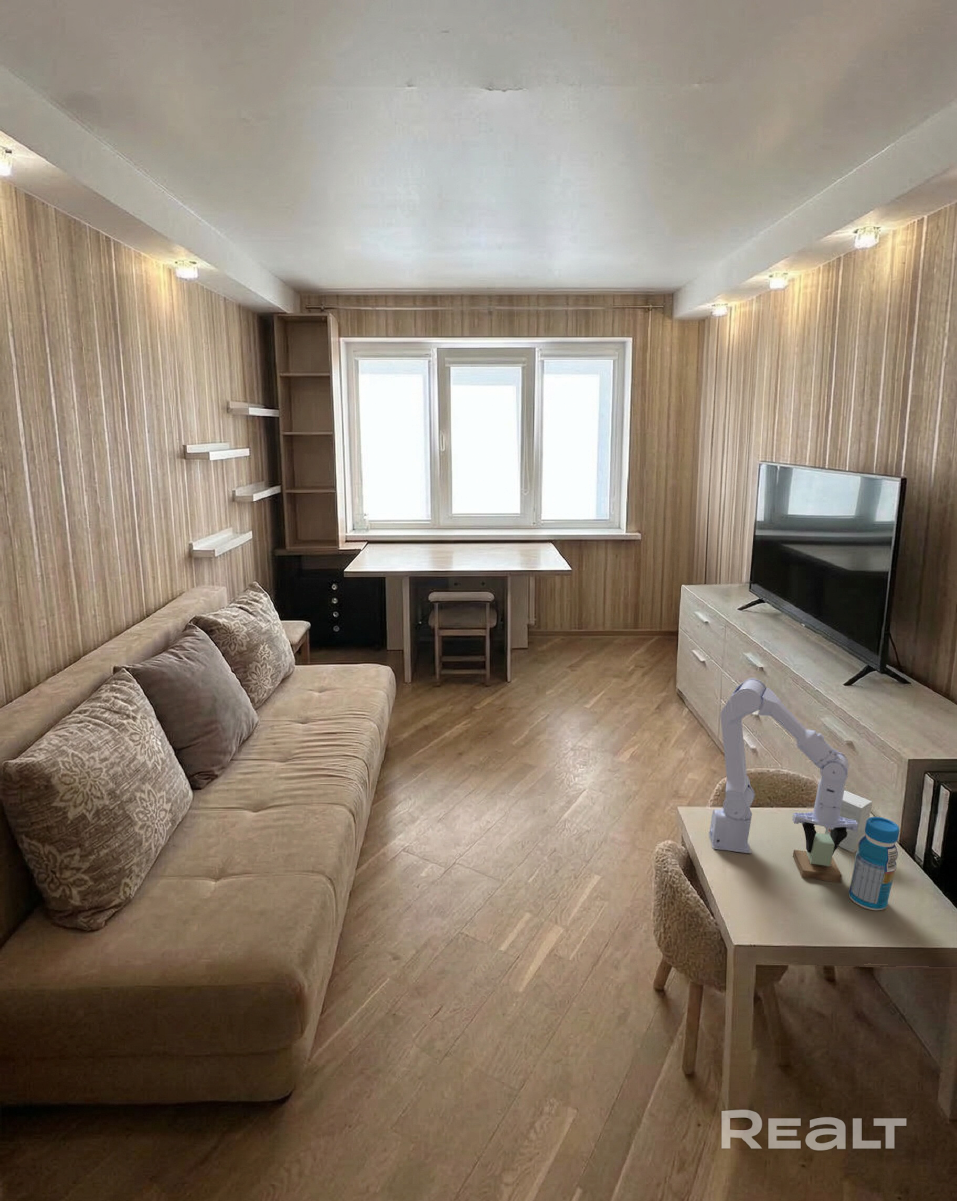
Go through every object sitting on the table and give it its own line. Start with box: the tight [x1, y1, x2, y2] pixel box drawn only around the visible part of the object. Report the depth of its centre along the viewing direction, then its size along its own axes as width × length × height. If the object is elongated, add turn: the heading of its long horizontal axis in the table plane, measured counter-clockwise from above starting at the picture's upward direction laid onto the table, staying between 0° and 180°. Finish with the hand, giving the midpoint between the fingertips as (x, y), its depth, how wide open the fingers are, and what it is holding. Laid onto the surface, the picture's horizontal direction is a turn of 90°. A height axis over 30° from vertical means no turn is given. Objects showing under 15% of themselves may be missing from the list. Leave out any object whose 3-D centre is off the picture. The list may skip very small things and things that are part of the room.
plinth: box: [792, 849, 843, 883], centre depth 188 cm, size 9×9×2 cm
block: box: [806, 832, 835, 866], centre depth 187 cm, size 4×4×6 cm
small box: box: [824, 789, 873, 853], centre depth 200 cm, size 8×6×13 cm
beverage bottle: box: [848, 816, 900, 911], centre depth 175 cm, size 8×8×20 cm
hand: (819, 851), depth 187 cm, fingers closed on block, 4 cm apart
